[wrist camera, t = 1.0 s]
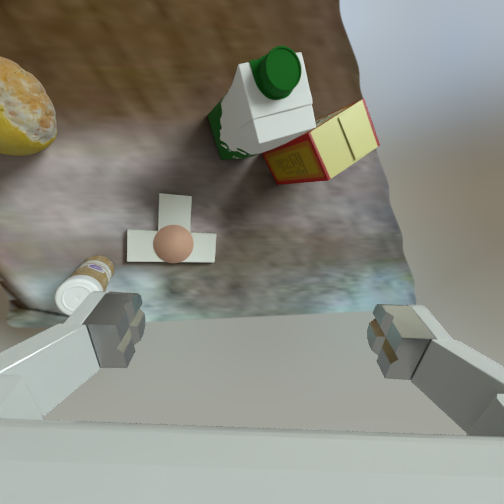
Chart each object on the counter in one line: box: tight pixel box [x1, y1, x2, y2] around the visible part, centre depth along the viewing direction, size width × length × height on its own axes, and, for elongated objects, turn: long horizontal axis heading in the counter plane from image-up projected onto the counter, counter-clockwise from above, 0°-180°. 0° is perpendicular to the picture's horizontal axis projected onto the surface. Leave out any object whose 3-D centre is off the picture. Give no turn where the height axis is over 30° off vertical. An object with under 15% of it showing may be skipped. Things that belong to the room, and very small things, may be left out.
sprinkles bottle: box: [55, 255, 114, 316], centre depth 37 cm, size 5×5×14 cm
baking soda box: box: [262, 98, 380, 185], centre depth 43 cm, size 10×6×16 cm
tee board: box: [127, 193, 216, 263], centre depth 45 cm, size 11×14×1 cm
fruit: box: [0, 57, 57, 156], centre depth 32 cm, size 10×11×10 cm
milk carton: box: [207, 46, 316, 160], centre depth 37 cm, size 9×9×20 cm
